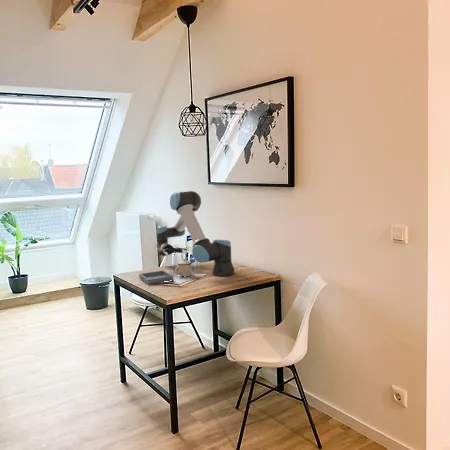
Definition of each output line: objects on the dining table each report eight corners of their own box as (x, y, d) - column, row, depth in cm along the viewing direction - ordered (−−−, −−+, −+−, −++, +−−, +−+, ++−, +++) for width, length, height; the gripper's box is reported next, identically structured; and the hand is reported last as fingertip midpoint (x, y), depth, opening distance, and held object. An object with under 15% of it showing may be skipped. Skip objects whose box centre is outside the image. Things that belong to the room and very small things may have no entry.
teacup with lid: (187, 273, 326) (186, 256, 325) (194, 275, 319) (193, 258, 318) (172, 276, 319) (171, 259, 317) (179, 278, 312) (178, 261, 310)
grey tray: (163, 275, 324) (163, 270, 323) (173, 281, 306) (173, 276, 305) (139, 278, 317) (139, 273, 316) (147, 285, 299) (147, 279, 298)
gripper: (183, 252, 352) (193, 257, 333) (150, 256, 341) (159, 261, 322) (182, 242, 351) (193, 246, 332) (150, 245, 340) (159, 250, 321)
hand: (176, 254), depth 327 cm, fingers open, 13 cm apart
